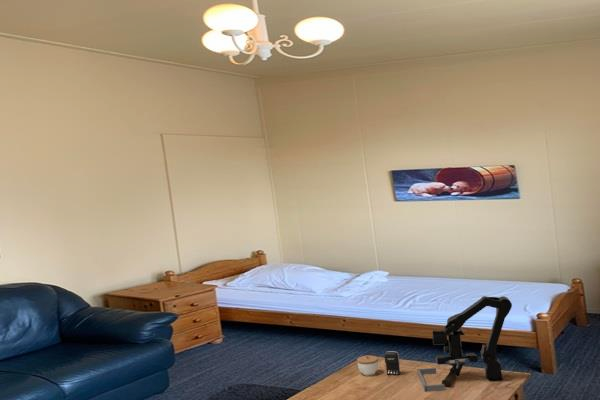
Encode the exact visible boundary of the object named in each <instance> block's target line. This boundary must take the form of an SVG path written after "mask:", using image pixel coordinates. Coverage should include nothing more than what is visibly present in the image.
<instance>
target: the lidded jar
mask: <svg viewBox="0 0 600 400" xmlns="http://www.w3.org/2000/svg"><path fill="white" fill-rule="evenodd" d="M356 361H357V367H358V371H360V373H361V374H362V375H363V376H366V377H367V376H368V377H369V376H374V375H375V373H376V372H378V368H379V357H377V356H375V355H368V354H367V355H361V356H360V357H357V359H356Z"/></svg>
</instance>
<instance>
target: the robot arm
mask: <svg viewBox="0 0 600 400" xmlns="http://www.w3.org/2000/svg"><path fill="white" fill-rule="evenodd" d="M512 306H513V305H512V301H510V299H509V297H506V296H505V295H502V296H500V297H499V296H498V297H497V296H487V295H484V296H481V298H479V299H478V300H477V301H475V302H473V304H470V306H468V307H467V308H466V309H465V310H462V311H461V312H460V313H456V314H453V315H451V316H450V317H448V318H447V320H446V321H447V322H446V325H445V326H444V327H443V330H442V329H441V330H437V329H434V330H433V329H432V344H433V346H440V345H441V346H442V345H443V351H444V354H448V356H445V355H444V354H440V355H439V354H438V355H435V362H436V364H437V365H445V364H446V363H447V362H448V364H449V366H452V367H453V368H454V371H455V373H456V378H457V377H458V378H459V377H460V374H461V371H462V369H463V366H464V365H466V361H469V362H470V363H478V362H479V361H478V356H477V354H476V353H475V352H467V353H466V354H465V355H463V350H462V349H463V348H462V336H465V331H464V330H462V329H461V328H462V327H463V326H464V325H465V323H466V322H467V321H469V319H471V318H472V317H474V316H475V315H476V314H478V313H480V312H481V311H482V310H483V309H485V308H486V307H490V308H495V317H494V320H493V324H492V327H491V330H490V334H489V337H488V340H487V343H486V344H482V346H481V350H480V351H479V353H480V357H481V359H482V361H483V363H484V364H486V365H485V368H484V372H485V378H486V379H487V380H488V381H489V382H496V381H504V378H503V376H502V375H503V374H502V373H503V372H502V363H501V362H500V359H499V358H498V357H497V345H498V342H499V339H500V336H501V332H502V330H503V326H504V322H505V319H506V317H507V316H508V315H509V313H510V311H511V309H512V308H513V307H512ZM447 343H448V345H446V344H447Z"/></svg>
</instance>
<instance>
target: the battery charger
mask: <svg viewBox="0 0 600 400" xmlns="http://www.w3.org/2000/svg"><path fill="white" fill-rule="evenodd" d="M384 363H385V370H386V375H387V376H399V375H401V370H400V355H399V352H397V351H391V350H390V351H386V352H385V353H384Z"/></svg>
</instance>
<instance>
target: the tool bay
mask: <svg viewBox="0 0 600 400" xmlns="http://www.w3.org/2000/svg"><path fill="white" fill-rule="evenodd" d="M430 374H431V375H432V374H433V375H434V374H437V367H429V368H428V367H427V368H417V375H418V379H419V381H420V383H421V385H422V387H423V389H424V392H436V391H437V392H439V391H446V387H445V385H444V384H442V383H441V384H429V385H428V384H427V383H426V381H425V379H424V377H423V376H424V375H430Z"/></svg>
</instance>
